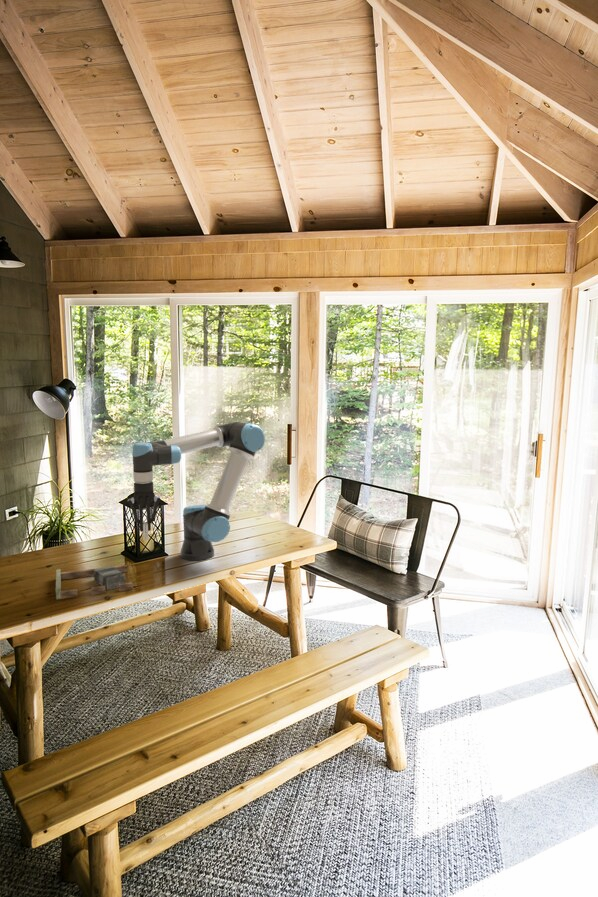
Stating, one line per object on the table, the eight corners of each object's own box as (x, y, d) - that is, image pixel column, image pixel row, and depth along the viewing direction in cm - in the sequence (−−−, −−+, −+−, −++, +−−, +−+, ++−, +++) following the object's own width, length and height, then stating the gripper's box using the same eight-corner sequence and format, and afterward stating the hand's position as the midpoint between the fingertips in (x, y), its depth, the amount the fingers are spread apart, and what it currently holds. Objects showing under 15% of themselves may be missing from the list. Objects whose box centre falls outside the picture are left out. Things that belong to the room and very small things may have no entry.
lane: (126, 570, 259) (126, 561, 258) (132, 589, 238) (132, 579, 237) (56, 579, 249) (56, 569, 249) (56, 599, 228) (55, 589, 227)
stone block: (115, 576, 253) (115, 564, 253) (129, 586, 242) (128, 573, 241) (93, 580, 248) (93, 568, 247) (106, 591, 237) (106, 578, 236)
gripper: (159, 478, 251) (161, 534, 254) (125, 481, 246) (127, 538, 249) (161, 482, 244) (163, 539, 247) (126, 484, 239) (129, 543, 242)
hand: (145, 538), depth 248 cm, fingers closed
